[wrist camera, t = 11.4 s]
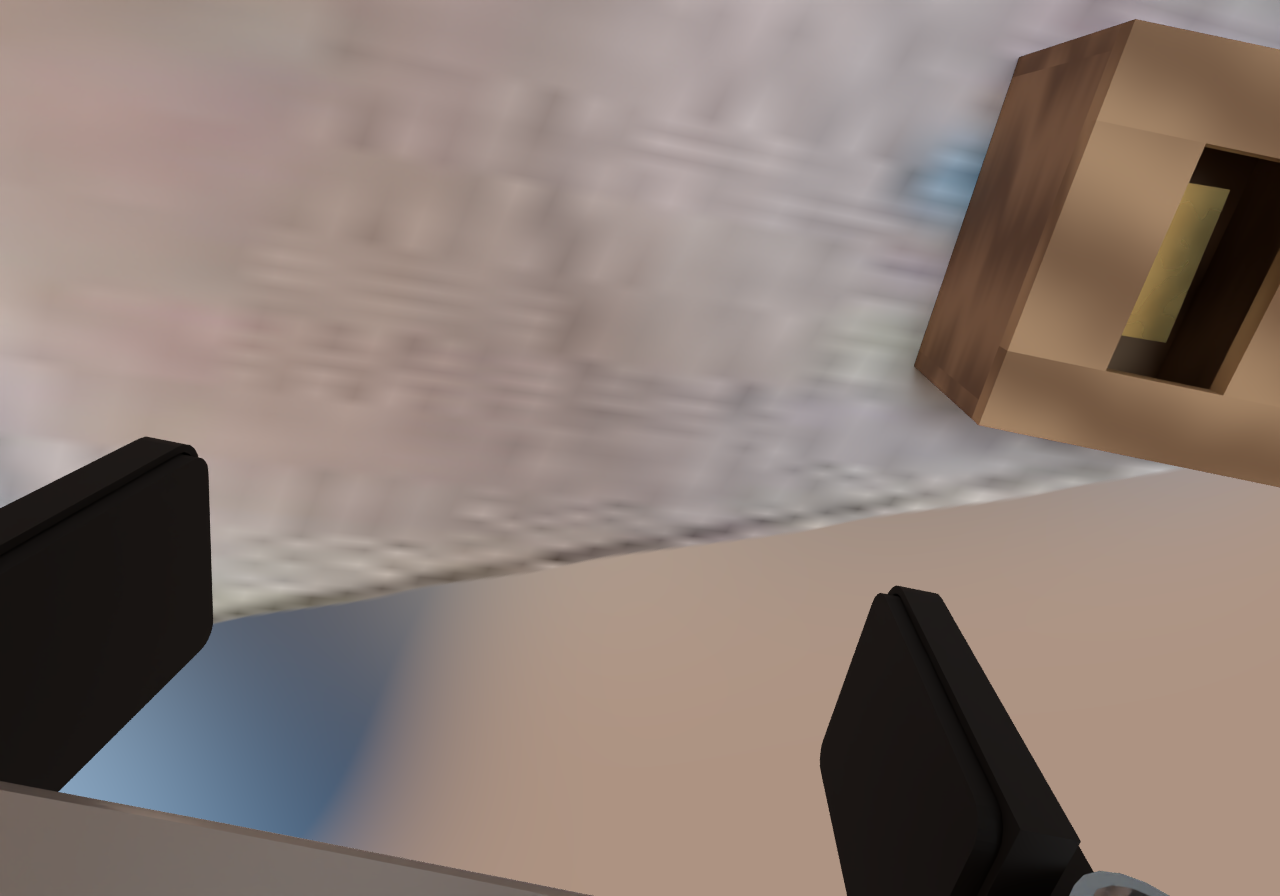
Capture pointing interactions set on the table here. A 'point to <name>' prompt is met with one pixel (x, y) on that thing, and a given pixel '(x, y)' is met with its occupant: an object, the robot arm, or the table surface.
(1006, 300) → the coin box
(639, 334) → the table surface
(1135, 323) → the yellow rectangular block
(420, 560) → the table surface
